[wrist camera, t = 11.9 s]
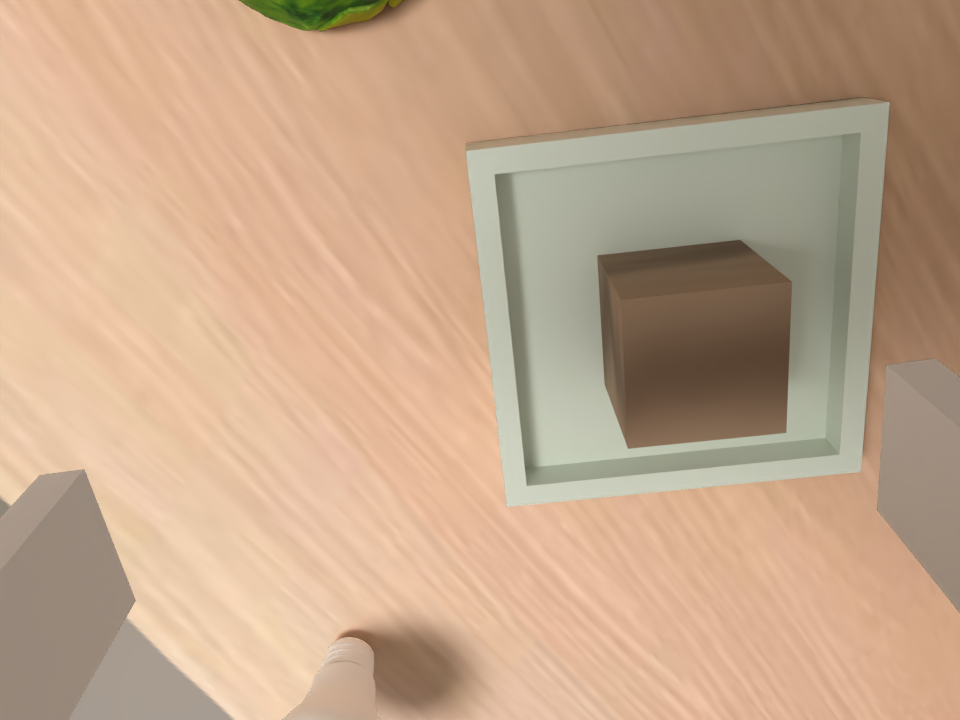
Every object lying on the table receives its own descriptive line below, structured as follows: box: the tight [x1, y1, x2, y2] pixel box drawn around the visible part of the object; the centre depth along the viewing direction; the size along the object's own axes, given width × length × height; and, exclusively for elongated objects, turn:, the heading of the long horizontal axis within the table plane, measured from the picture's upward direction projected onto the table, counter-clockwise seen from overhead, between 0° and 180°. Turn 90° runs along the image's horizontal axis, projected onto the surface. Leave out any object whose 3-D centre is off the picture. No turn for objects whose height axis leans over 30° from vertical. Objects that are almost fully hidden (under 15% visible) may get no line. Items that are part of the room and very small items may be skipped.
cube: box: [597, 240, 792, 449], centre depth 32 cm, size 6×6×6 cm
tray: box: [466, 97, 890, 507], centre depth 35 cm, size 16×16×2 cm
